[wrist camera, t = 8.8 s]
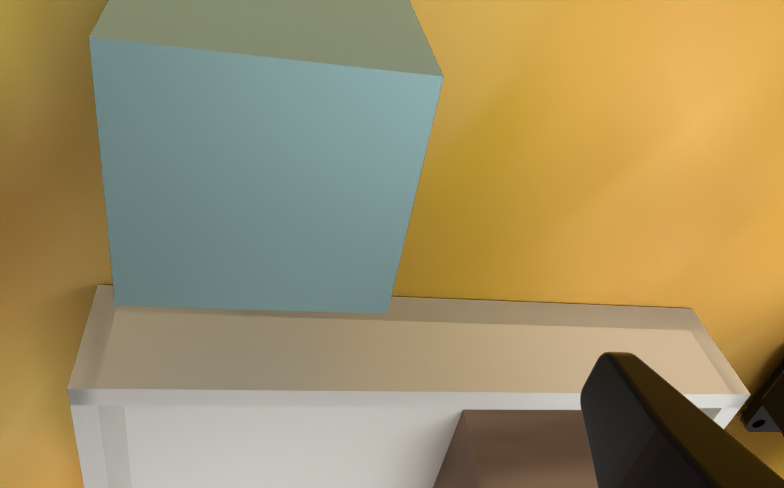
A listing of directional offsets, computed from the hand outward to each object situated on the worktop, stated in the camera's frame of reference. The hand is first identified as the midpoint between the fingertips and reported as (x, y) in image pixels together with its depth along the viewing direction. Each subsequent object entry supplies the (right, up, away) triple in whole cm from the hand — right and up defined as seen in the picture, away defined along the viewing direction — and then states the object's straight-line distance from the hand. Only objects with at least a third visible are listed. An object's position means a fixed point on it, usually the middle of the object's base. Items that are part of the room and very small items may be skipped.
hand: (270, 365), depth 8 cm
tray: (+1, -5, +15) cm, 16 cm away
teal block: (-1, +5, +6) cm, 9 cm away
